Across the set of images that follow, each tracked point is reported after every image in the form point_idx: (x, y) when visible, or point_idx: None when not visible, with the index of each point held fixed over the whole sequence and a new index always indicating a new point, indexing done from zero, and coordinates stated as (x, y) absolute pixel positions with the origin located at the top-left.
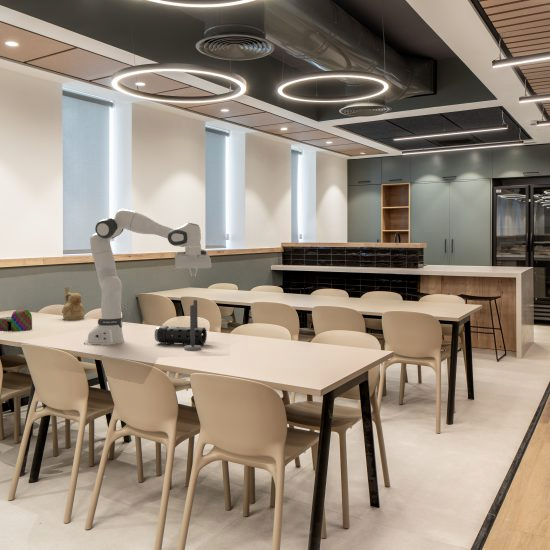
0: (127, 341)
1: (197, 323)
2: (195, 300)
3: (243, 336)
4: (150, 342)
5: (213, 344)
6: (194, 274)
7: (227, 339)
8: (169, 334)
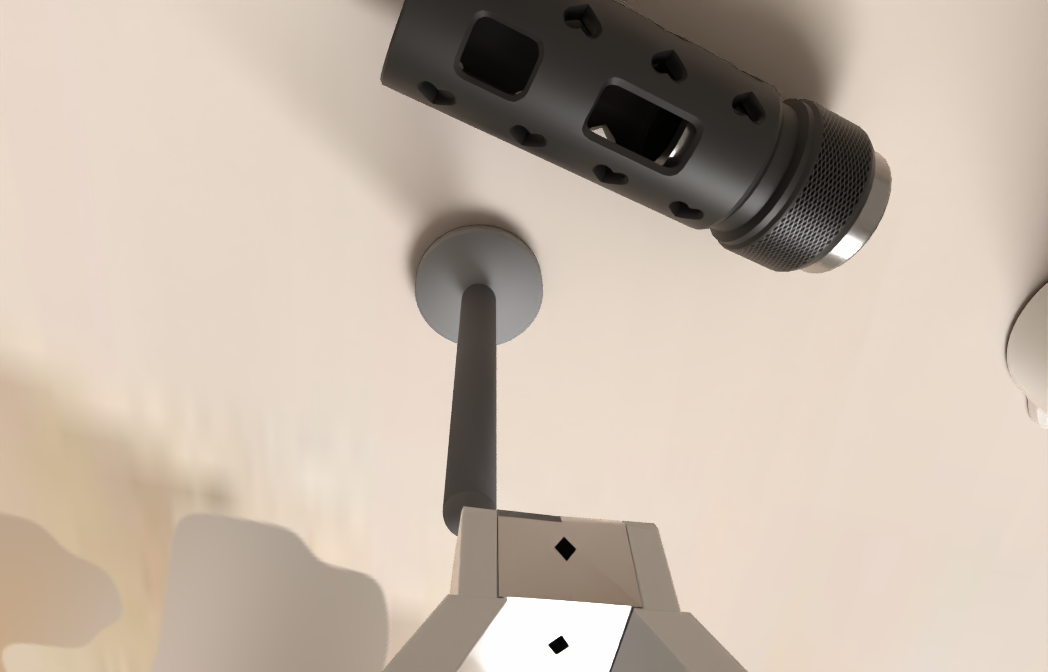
0: (983, 341)
1: (457, 351)
2: None
3: (84, 354)
4: None
5: (331, 13)
6: (520, 567)
7: (211, 248)
8: (763, 83)
